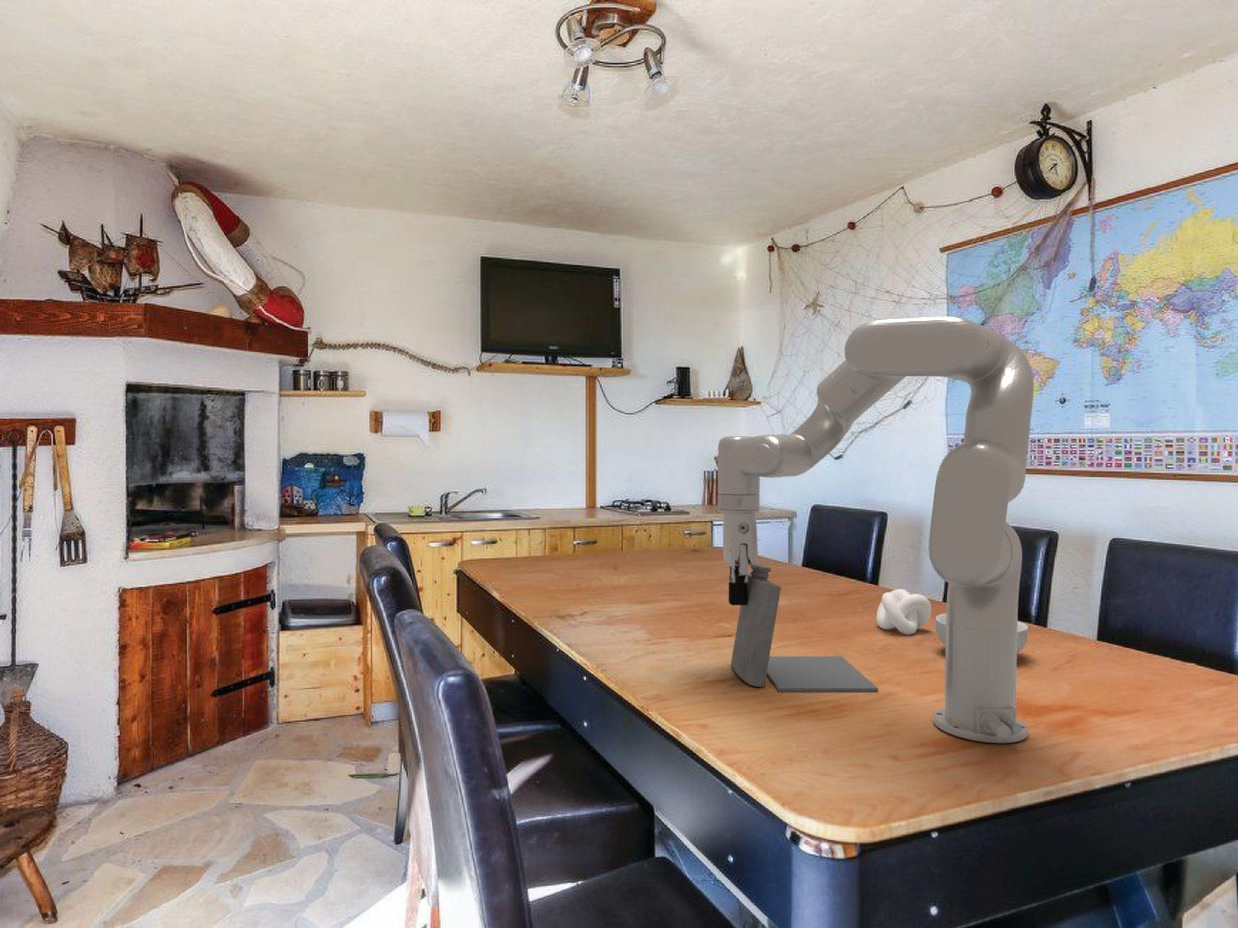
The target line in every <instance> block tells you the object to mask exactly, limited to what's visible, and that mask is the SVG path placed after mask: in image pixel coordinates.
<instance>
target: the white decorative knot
mask: <svg viewBox="0 0 1238 928" xmlns="http://www.w3.org/2000/svg"><path fill="white" fill-rule="evenodd" d="M931 615H932V605H931V602H930V600H929V599H928V598H927V597H926V596H925V595H922V594H919V593H910V592H908V591H907V590H906V589H902V588H898V589H894V590H892V591H888V592H885V593H882V595H881V602H880V603H879V606H878V608H877V612H876V617H875V618H876V623H877V625H878V627H880V628H881V629H883V630H886V631H888V630H890V631H891V630H894V629H895V628H896V629H897V630H898V631H899V633H901V634H904V635H907V636H910V635H914V633H916V632H917V630H918V629H919V628H921V627H923V626H924V625H925V624H926V623H927V622H928V621H929V620H930V617H931Z"/></svg>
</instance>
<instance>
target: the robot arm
mask: <svg viewBox="0 0 1238 928" xmlns="http://www.w3.org/2000/svg"><path fill="white" fill-rule="evenodd" d="M844 357H845V360H844V361H842V362H841V363H840V364H839V365H838V366H837V367H836V368H834V370H832V371H831V372H830V373H829V374H828V375H827V376H826V377H825V378H824V379H822V380H821V381H820V382H819V383H818V385H817V387H816V396H817V404H816V407H815V408H814V410H813V412H812V413H811V415H809V416H808V418H807V419H806V420H804V421H803V422H802V423H801V424H800V425H799V426H798V427H797V428H796V429H795V430H794V431H792V432H791V433H789V434H762V435H757V436H748V435H747V436H745V435H744V436H739V435H734V436H733V435H732V436H723V437H721V438H720V440H719V442H718V444H717V456H718V457H717V512H718V513H723V517H722V518H723V520H722V522H723V523H722V553H723V554H722V555H723V560H724V562H725V563H726V564H727V565H728V579H729V581H728V604H729V605H731V606H741V605H747V603H748V583H747V578H748V572H749V566H750V568H751V567H753V568H756V567H757V566H758V564H759V554H758V553H759V552H758V551H759V549H758V528H757V527H758V526H757V519H756V518H757V517H756V514H758V513H760V501H761V500H760V499H761V497H760V493H761V492H760V487H761V486H760V485H761V484H760V482H761V481H760V480H761V479H760V478H769V479H771V478H774V479H775V478H782V477H783V478H784V477H787V478H789V477H798V476H799V475H803V474H804V473H806V472H808V471H809V470H811V469H812V468H814V467H815V466H816V465H817V464H818V463H819V462H821V461H822V460H823V459H824V458H826V457H827V456H828V455H829V454H830V453H831V452H832V451H833V450H834V449H836V447H838V445H839V444H840V443H841V442H842V441H843V438H845V436H846V435H847V434H848V432H849V431H850V429H851V427H852V425H853V424H854V423H855V421H856V420H858V419H859V418H860V417H861V416H862V415H863V414H864V413H865V412H867V411H868V410H869V409H870V408H871V407H872V406H873V405H875V404H876V403H878V401H880V399H882V398H883V397H884V396H885V395H886V394H888V393H889V392H890V391H891V390H892V389H893V388H895V387H896V386H897V385H898V384H899V383H901V382H902V381H903V380H904V379H905V378H906V377H937V378H938V377H939V378H940V377H941V378H942V377H943V378H949V379H953V380H958V381H962V382H964V383H965V382H966V384H968V386H969V388H970V397H969V398H970V399H969V402H968V405H967V409H966V414H965V427H964V434H963V440H962V444H959V445H957V446H955V447H953V449H951V450H950V451H949V452H948V453H947V454H946V455H945V456H944V458H943V459H942V461H941V463H940V466H939V468H938V471H937V474H936V479H935V485H934V493H933V501H932V510H931V511H932V512H931V517H930V526H929V538H928V556H929V561H930V564H931V565H932V568H933V570H934V572H935V573H936V574H937V575H938V576H939V577H940V578H941V579H942V580H943V581H945V583H948V587H947V594H946V595H947V596H946V645H945V662H944V663H945V664H944V667H945V671H944V673H945V674H944V675H945V676H944V679H945V680H944V707H942V708H939V709H937V710H936V711H934V713H933V723H934V724H935V726H936V727H937V728H939V729H940V730H942V731H943V732H945V733H948V734H949V735H952V736H955V737H959V738H961V739H966V740H970V741H974V742H982V743H989V744H991V743H992V744H1011V743H1018V742H1020V741H1022V740H1025V739H1026V738H1027V737H1028V731H1029V729H1028V725H1027V724H1026V723H1025V722H1024V721H1022V720H1021V719H1020V718H1018V717H1017V670H1018V669H1017V666H1018V665H1017V662H1018V661H1017V660H1018V656H1017V655H1018V653H1017V626H1018V621H1019V620H1018V618H1019V617H1018V613H1019V612H1018V611H1019V592H1020V581H1021V574H1022V563H1023V549H1022V544H1021V539H1020V537H1019V536H1018V533H1017V531H1015V529H1014V528H1013V527H1012V525H1010V524H1009V522H1007V513H1008V507H1009V503H1010V502H1012V501H1013V500H1015V499H1016V498H1017V497H1018V496H1019V495H1020V494H1021V492H1022V490H1023V488H1024V485H1025V482H1026V471H1027V460H1028V459H1027V458H1028V451H1029V442H1030V434H1031V423H1032V422H1031V420H1032V413H1033V402H1034V391H1035V390H1034V389H1035V385H1034V384H1035V383H1034V375H1033V370H1032V367H1031V364H1030V362H1029V359H1028V358H1027V356H1026V355H1025V353H1024V351H1023V350H1022V349H1021V348H1020V347H1019V346H1018V345H1017V344H1016V343H1014V342H1013V341H1012V340H1010V339H1009V338H1007V337H1006V336H1004V335H1002V334H1000V333H998V332H996V331H994V330H993V329H990V328H988V327H986V326H984V325H982V324H980V323H977V322H975V321H972V320H971V319H967V318H964V317H960V316H953V315H952V316H951V315H950V316H926V317H912V318H910V317H909V318H908V317H907V318H890V319H876V320H869V321H866V322H864V323H862V324H860V325H859V326H857V327H855V329H853V330H852V332H851V333H850V335H849V336H848V338H847V339H846V342H845V345H844Z"/></svg>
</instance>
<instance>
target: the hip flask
mask: <svg viewBox="0 0 1238 928" xmlns="http://www.w3.org/2000/svg"><path fill="white" fill-rule="evenodd" d="M750 569H751V571H748V578H747V583H748V603H747V605H739V606H740V607H739V612H738V613H739V614H738V618H737V619H738V620H737V626H736V630H735V636H734V642H733V649H732V654H731V660H730V662H731V667H732V669H733V671H734V673H735V674H736V675H737V676H738V677H739V678H740V679H741V680H742V681H744V682H745V683H746V684H748V685H750V686H753V687H758V688H763V687H765V686H766V680H767V679H766V678H767V675H766V674H767V668H768V662H769V656H771V649H772V643H773V637H774V631H775V624H776V621H777V620H776V618H777V614H778V607H779V603H780V602H779V601H780V596H781V589H782V586H780V585H778V584H776V583H774V582H772V581H770V580H768V578H769V576H770V574H769V573H771V570H772V567H771V566H768V565H765V564H759V563H758V566H757V567H756V568H753V567H751V566H750Z"/></svg>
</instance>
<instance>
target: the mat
mask: <svg viewBox="0 0 1238 928" xmlns="http://www.w3.org/2000/svg"><path fill="white" fill-rule="evenodd" d="M766 677H767V678H768V679H769V680H770V682H771V684H772V685H773V686H774V687H775V689H776V690H777V692H778V693H878V692H879V688H878V687H877V686H876V685H875V684H874V683H872V681H870V680H869V679H868V678H867V677H866V676H864V675H863V674H862V673H861V672H860V670H858V669H857V668H856V667H855V666H853V665H852V664H851V663H850V662H849V661H848V660H846V659H845V658H844V657H843V656H839V655H838V656H833V655H832V656H829V655H827V656H823V655H822V656H819V655H818V656H816V655H815V656H809V655H808V656H803V655H802V656H794V655H793V656H792V655H791V656H790V655H789V656H785V655H783V656H775V655H774V656H771V655H770V656H769V662H768V668H767V674H766Z"/></svg>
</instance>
